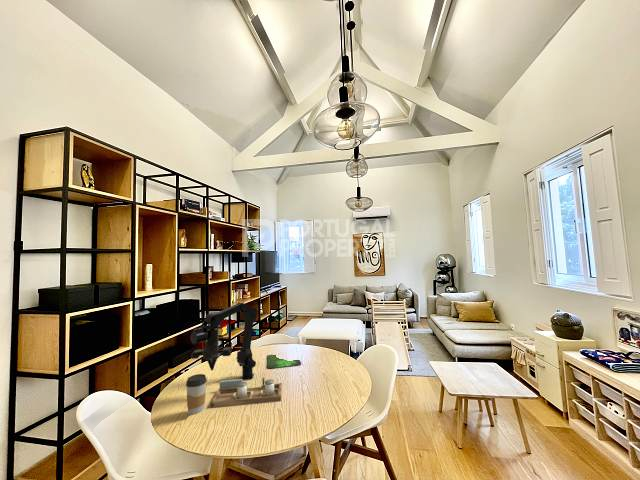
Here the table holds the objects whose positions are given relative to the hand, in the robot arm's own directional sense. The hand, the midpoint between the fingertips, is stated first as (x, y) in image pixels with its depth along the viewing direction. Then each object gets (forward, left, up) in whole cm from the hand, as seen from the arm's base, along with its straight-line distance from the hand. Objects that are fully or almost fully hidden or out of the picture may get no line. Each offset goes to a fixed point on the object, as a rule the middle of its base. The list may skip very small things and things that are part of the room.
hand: (212, 370), depth 133 cm
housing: (+8, +20, -11) cm, 24 cm away
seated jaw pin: (+10, +17, -10) cm, 22 cm away
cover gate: (0, +9, -10) cm, 14 cm away
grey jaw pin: (+10, +29, -10) cm, 33 cm away
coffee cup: (+17, -2, -12) cm, 21 cm away
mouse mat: (-41, +35, -12) cm, 55 cm away
